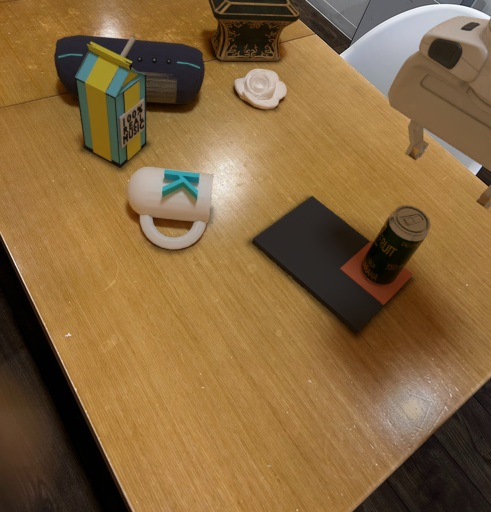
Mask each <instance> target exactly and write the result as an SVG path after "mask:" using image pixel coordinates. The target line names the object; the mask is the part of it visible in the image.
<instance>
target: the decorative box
mask: <svg viewBox="0 0 491 512" xmlns="http://www.w3.org/2000/svg"><path fill="white" fill-rule="evenodd" d="M208 3H209V7H210V9H211V12H212V15H213V18H214V19H215V20H216V21H217V26H216V30H215V32H214V33H213V35H212V36H211V39H210V41H211V44H212V47H213V50H214V53H215V57H216V58H217V60H220V61H237V62H238V61H239V62H243V61H249V62H250V61H254V62H255V61H257V62H261V61H262V62H269V61H270V62H278V61H279V60H281V53H280V45H279V44H280V43H279V42H280V37H281V34H282V32H283V31H284V29H285V28H287V27H288V26H290V25H292V24H295V23H296V22H297V21H298V20H299V19H300V15H301V14H300V12H299V10H298V8H297V6H296V4H295V3H294V1H293V0H208Z"/></svg>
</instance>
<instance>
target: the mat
mask: <svg viewBox="0 0 491 512" xmlns="http://www.w3.org/2000/svg"><path fill="white" fill-rule="evenodd" d="M373 242H374V241H372V240H369V239H368V238H366V237H365V236H364V235H363V234H361V233H360V232H359V231H357V230H356V229H355V228H354V227H353V226H352V225H350V224H349V223H347V222H346V221H345V220H344V219H343V218H341V217H340V216H338V214H336V213H335V212H334V211H332V210H331V209H330V208H329V207H327V206H326V205H325V204H323V203H322V202H321V201H319V200H318V198H316V197H315V196H313V195H311V196H310V197H309V198H307V199H305V200H304V201H303V202H302V203H300V204H299V205H297V206H296V207H295V208H293V209H292V210H290V211H289V212H287V213H285V215H283V216H282V217H280V218H279V219H278V220H277V221H275V222H274V223H272V224H271V225H270V226H268V227H267V228H265V229H264V230H263V231H261V232H260V233H259V234H257V235H256V236H255V237H253V238H252V241H251V243H252V244H253V245H254V246H255V247H256V248H257V249H258V250H260V251H261V252H262V253H264V255H266V256H267V257H268V258H269V259H270V260H271V261H272V262H273V263H275V264H276V265H277V266H278V267H279V268H280V269H281V270H282V271H284V272H285V273H286V274H287V275H288V276H289V277H291V278H292V279H293V280H294V281H295V282H297V283H298V284H299V285H300V286H301V287H302V288H303V289H305V290H306V292H308V293H309V294H310V295H311V296H312V297H314V298H315V299H316V300H317V301H318V302H319V303H321V305H323V306H324V307H325V308H326V309H328V310H329V312H331V313H332V314H333V315H334V316H335V317H336V318H338V319H339V321H341V322H342V323H343V324H344V325H345V326H346V327H348V328H349V329H350V330H351V331H353V332H354V333H355V334H358V333H359V332H360V331H361V330H363V328H364V327H365V326H366V325H367V324H368V323H369V322H370V321H371V320H372V319H373V318H374V317H375V316H376V315H377V314H378V313H379V312H380V310H382V309H383V308H384V306H386V305H387V303H389V302H390V300H391V299H393V297H394V296H395V295H396V294H397V293H398V292H399V291H400V290H401V289H402V288H403V287H404V286H405V285H406V284H407V283H408V282H409V281H410V280H411V279H412V277H413V276H414V273H413V272H411V271H410V270H409V269H408V268H407V267H406V266H405V267H404V268H403V269H402V271H401V272H400V273H399V275H398V276H397V278H396V279H395V280H394V282H392V283H390V284H388V285H383V286H379V285H375V284H372V283H371V282H369V281H368V280H367V279H366V278H365V277H364V275H363V273H362V268H361V264H362V260H363V259H364V257H365V255H366V254H367V252H368V250H369V249H370V247H371V245H372V244H373Z"/></svg>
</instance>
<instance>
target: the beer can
mask: <svg viewBox="0 0 491 512" xmlns="http://www.w3.org/2000/svg"><path fill="white" fill-rule="evenodd" d="M430 220H431V219H430V218H429V217H428V215H427V214H426V213H425V212H424V211H423V210H421V209H420V208H419V207H416V206H413V205H408V204H404V205H403V204H402V205H399V206H397V207H396V208H395V209H394V210H393V211H391V213H390V214H389V215H388V217H387V218H386V219H385V222H384V223H383V226H382V227H381V229H380V230H379V232H378V233H377V235H376V237H375V238H374V240H373V241H372V242H373V244H372V245H371V247H370V249H369V250H368V252H367V254H366V255H365V257H364V259H363V260H362V264H361V268H362V273H363V275H364V277H365V278H366V279H367V280H368V281H369V282H371V283H372V284H375V285H379V286H383V285H388V284H390V283H392V282H394V280H395V279H396V278H397V276H398V275H399V273H400V272H401V271H402V269H403V268H404V267H405V268H406V266H407V264H408V263H409V261H410V260H411V259H412V257H413V256H414V255H415V253H416V252H417V250H418V249H419V247H420V246H421V245H422V243H423V242H424V241H425V240H426V238H427V237H428V235H429V230H430V229H431V221H430Z"/></svg>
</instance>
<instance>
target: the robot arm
mask: <svg viewBox="0 0 491 512" xmlns="http://www.w3.org/2000/svg"><path fill="white" fill-rule="evenodd" d="M387 99H388V103H389V106H390V107H391V108H392V109H394V110H395V111H397V112H398V113H400V114H401V115H403V116H404V117H406V118H408V119H409V120H410V121H409V124H408V125H407V130H408V141H409V145H408V147H407V149H406V151H405V152H404V153H405V155H406V156H408V157H409V158H411V159H412V160H414V161H418V160H419V159H420V158H422V157H423V155H424V154H425V151H426V149H427V148H428V147H429V144H430V143H429V142H427V141H426V140H424V130H426V131H428V132H429V133H431V134H432V135H434V136H436V137H437V138H438V139H440V140H441V141H443V142H445V143H446V144H448V145H449V146H451V147H452V148H453V149H456V150H457V151H459V152H460V153H462V154H463V155H465V156H467V157H468V158H469V159H471V160H472V161H474V162H476V163H477V164H479V165H480V166H482V167H483V168H485V169H487V170H488V171H489V172H491V17H490V18H489V19H486V18H480V17H474V16H473V17H472V16H468V15H456V16H454V17H452V18H449V19H446V20H444V21H442V22H440V23H438V24H437V25H435V26H433V27H432V28H430V29H429V30H428V31H427V32H426V33H424V34H423V36H422V38H421V40H420V42H419V45H418V50H416V52H414V53H412V54H411V55H410V56H408V57H407V58H406V60H405V61H404V62H403V64H402V65H401V67H400V68H399V70H398V71H397V74H396V75H395V77H394V79H393V81H392V83H391V85H390V87H389V90H388V91H387ZM475 202H476V203H478V205H480V206H482V207H483V208H484V209H486V210H489V209H490V208H491V184H490V185H488V186H487V188H486V189H485V190H483V192H482V193H481V194H480V195H479V197H478V198H477V199H476V201H475Z"/></svg>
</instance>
